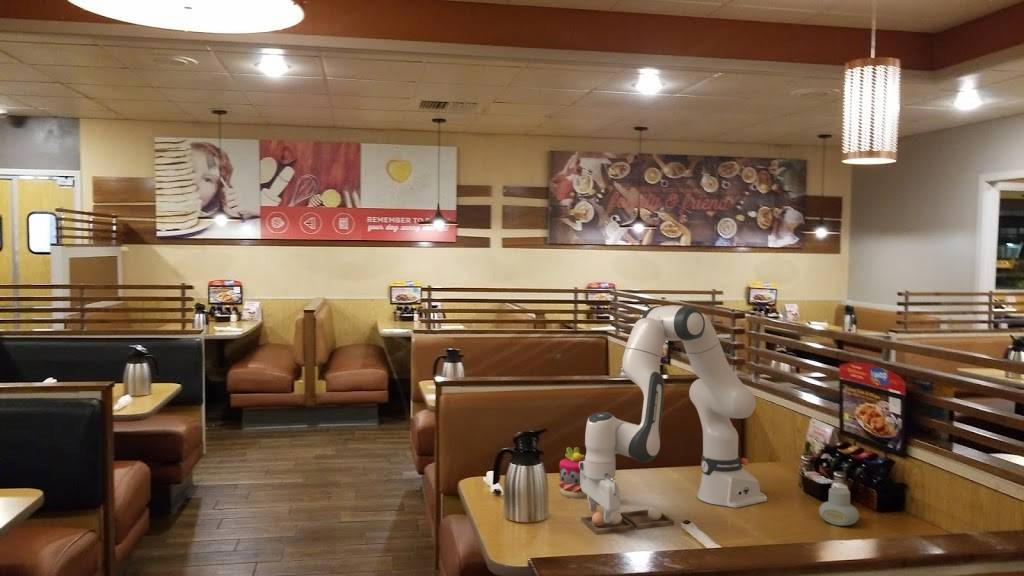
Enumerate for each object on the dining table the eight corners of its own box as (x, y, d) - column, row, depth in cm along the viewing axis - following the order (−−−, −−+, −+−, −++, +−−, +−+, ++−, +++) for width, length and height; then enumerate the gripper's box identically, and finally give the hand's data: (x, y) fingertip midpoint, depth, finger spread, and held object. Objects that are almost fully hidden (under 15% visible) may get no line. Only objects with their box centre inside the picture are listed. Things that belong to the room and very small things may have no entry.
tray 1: (617, 518, 219) (617, 512, 219) (634, 532, 209) (634, 525, 209) (580, 522, 216) (580, 517, 216) (596, 536, 205) (596, 530, 205)
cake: (596, 495, 241) (597, 450, 240) (572, 501, 235) (572, 455, 234) (576, 487, 249) (577, 444, 249) (552, 492, 243) (552, 448, 243)
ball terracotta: (602, 524, 214) (601, 510, 214) (608, 526, 210) (607, 512, 211) (590, 525, 213) (589, 511, 213) (595, 528, 209) (595, 514, 209)
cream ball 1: (618, 521, 215) (618, 508, 215) (624, 526, 212) (624, 512, 212) (605, 522, 214) (605, 509, 214) (611, 527, 210) (611, 514, 210)
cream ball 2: (657, 516, 219) (657, 503, 219) (663, 521, 216) (664, 508, 216) (645, 518, 218) (645, 505, 218) (651, 522, 214) (652, 509, 214)
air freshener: (815, 522, 218) (816, 489, 217) (823, 514, 224) (824, 483, 224) (854, 531, 211) (855, 497, 210) (861, 523, 217) (862, 490, 217)
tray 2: (655, 514, 223) (655, 508, 223) (674, 527, 213) (674, 521, 213) (620, 518, 220) (620, 512, 220) (637, 531, 209) (637, 525, 209)
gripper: (626, 478, 202) (625, 527, 202) (595, 459, 221) (595, 503, 222) (605, 480, 200) (604, 530, 200) (576, 460, 219) (576, 505, 220)
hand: (599, 516), depth 211 cm, fingers open, 8 cm apart
